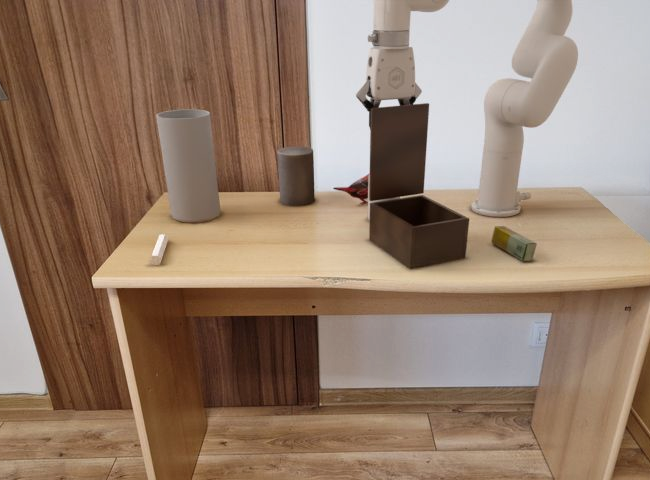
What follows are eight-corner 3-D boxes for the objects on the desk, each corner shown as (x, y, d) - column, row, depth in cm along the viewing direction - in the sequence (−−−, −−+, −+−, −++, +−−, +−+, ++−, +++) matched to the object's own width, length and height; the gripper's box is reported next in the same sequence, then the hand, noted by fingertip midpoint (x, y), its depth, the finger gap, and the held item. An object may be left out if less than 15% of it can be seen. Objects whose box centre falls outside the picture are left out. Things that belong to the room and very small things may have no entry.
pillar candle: (321, 199, 172) (320, 143, 164) (301, 208, 165) (299, 151, 157) (293, 194, 176) (290, 139, 169) (272, 203, 169) (268, 146, 161)
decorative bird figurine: (389, 201, 170) (391, 164, 165) (336, 213, 161) (336, 174, 156) (383, 198, 172) (384, 161, 167) (330, 210, 163) (329, 172, 158)
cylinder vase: (187, 227, 153) (172, 121, 140) (163, 215, 161) (146, 114, 148) (230, 216, 160) (219, 113, 147) (205, 205, 168) (193, 107, 155)
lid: (429, 103, 134) (416, 99, 138) (372, 108, 129) (360, 104, 133) (423, 193, 144) (411, 187, 148) (370, 201, 139) (359, 194, 143)
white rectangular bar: (166, 241, 146) (158, 267, 133) (157, 238, 146) (148, 263, 132) (170, 232, 145) (162, 257, 132) (162, 228, 145) (153, 252, 131)
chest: (465, 258, 134) (469, 218, 129) (410, 269, 129) (412, 228, 124) (420, 231, 149) (422, 194, 144) (369, 240, 144) (369, 202, 139)
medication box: (533, 261, 132) (538, 243, 130) (523, 262, 131) (528, 244, 129) (499, 241, 142) (503, 224, 140) (490, 242, 140) (493, 225, 139)
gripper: (362, 43, 123) (360, 136, 132) (436, 39, 129) (430, 129, 138) (346, 40, 129) (346, 130, 138) (417, 37, 135) (413, 123, 144)
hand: (388, 129), depth 138 cm, fingers open, 6 cm apart
